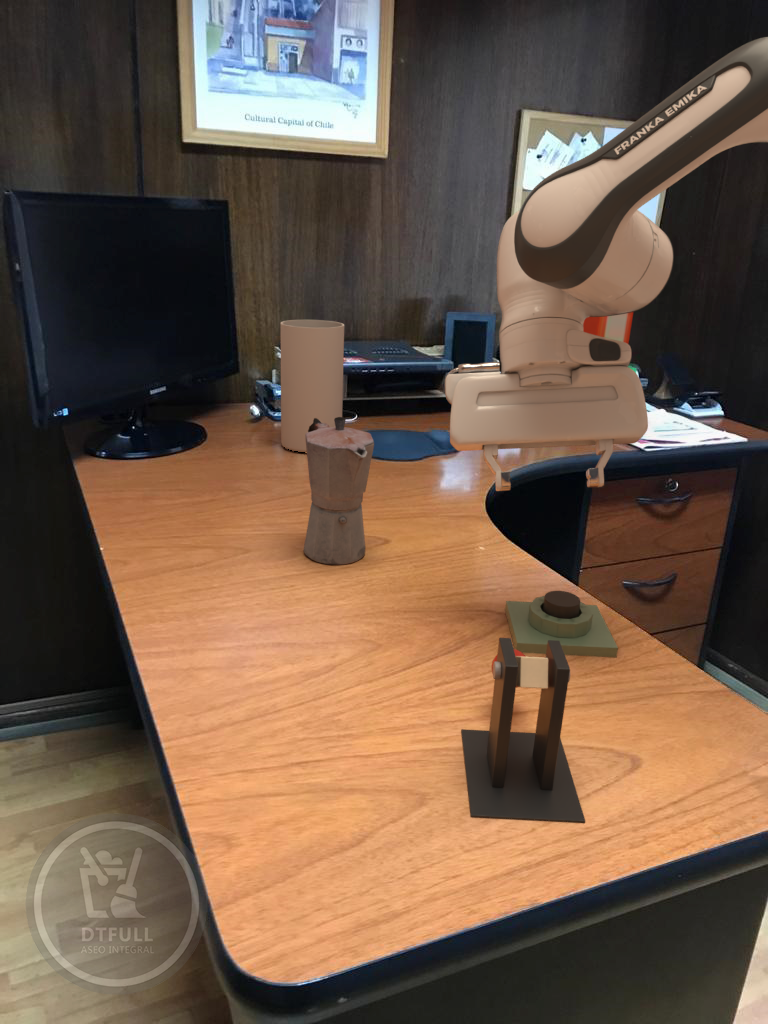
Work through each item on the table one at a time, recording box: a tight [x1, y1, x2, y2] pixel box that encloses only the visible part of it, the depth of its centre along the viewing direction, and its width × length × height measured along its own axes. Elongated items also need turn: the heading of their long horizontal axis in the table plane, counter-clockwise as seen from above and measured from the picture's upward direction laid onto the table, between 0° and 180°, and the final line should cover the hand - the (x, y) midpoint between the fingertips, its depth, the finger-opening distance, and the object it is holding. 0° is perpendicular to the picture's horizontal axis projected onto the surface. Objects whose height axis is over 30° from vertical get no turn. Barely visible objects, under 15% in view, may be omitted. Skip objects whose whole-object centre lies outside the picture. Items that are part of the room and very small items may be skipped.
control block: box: [504, 595, 619, 658], centre depth 89 cm, size 11×10×4 cm
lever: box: [491, 648, 548, 690], centre depth 67 cm, size 13×4×4 cm
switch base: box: [460, 637, 586, 824], centre depth 64 cm, size 11×9×13 cm
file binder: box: [583, 312, 634, 344], centre depth 184 cm, size 8×17×32 cm, turn 5°
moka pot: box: [303, 416, 375, 566], centre depth 107 cm, size 10×15×20 cm, turn 36°
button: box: [543, 590, 581, 619], centre depth 88 cm, size 4×4×2 cm
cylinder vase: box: [280, 319, 345, 453], centre depth 156 cm, size 12×12×25 cm
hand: (549, 488), depth 80 cm, fingers open, 8 cm apart
